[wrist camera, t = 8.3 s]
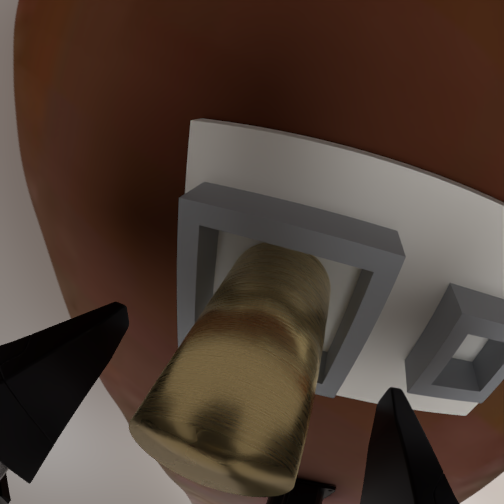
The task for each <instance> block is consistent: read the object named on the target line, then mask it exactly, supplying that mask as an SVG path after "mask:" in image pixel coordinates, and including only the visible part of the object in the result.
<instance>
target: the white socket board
mask: <svg viewBox="0 0 504 504" xmlns="http://www.w3.org/2000/svg"><path fill="white" fill-rule="evenodd" d="M264 242H265V243H269V244H273V245H276V246H280V247H284V248H287V249H291V250H295V251H299V252H302V253H306V254H310V255H313V256H315V257H316V258H317V259H318V260H319V261H320V262H321V264H322V265H323V266H324V268H325V270H326V272H327V274H328V277H329V280H330V285H331V293H330V301H329V309H328V317H327V324H326V331H325V338H324V344H323V351H322V357H321V363H320V369H319V375H318V380H317V386H316V391H315V394H318V395H322V396H326V397H330V398H334V397H335V395H338V396H343V397H347V398H352V399H357V400H361V401H366V402H372V403H377V404H378V402H379V400H380V399H381V398H382V396H383V395H384V394H385V392H386V391H387V390H388V389H389V388H390V387H395V388H400V389H402V390H403V392H404V394H405V396H406V398H407V400H408V402H409V403H410V405H411V407H412V409H413V410H420V411H427V412H435V413H444V414H453V415H464V416H466V415H467V414H468V413H469V412H470V411H471V410H472V409H473V408H474V407H475V406H476V405H477V404H478V403H482V402H483V401H484V400H485V399H486V398H487V397H488V396H489V395H490V394H491V393H492V392H493V391H494V389H495V388H496V387H497V386H498V385H499V384H500V383H501V382H502V380H503V379H504V202H502V201H500V200H497V199H495V198H493V197H491V196H489V195H486V194H484V193H482V192H479V191H477V190H475V189H472V188H470V187H468V186H465V185H463V184H460V183H458V182H455V181H453V180H450V179H448V178H445V177H442V176H440V175H437V174H434V173H431V172H429V171H426V170H423V169H420V168H417V167H414V166H412V165H409V164H406V163H403V162H399V161H396V160H393V159H390V158H387V157H384V156H380V155H377V154H374V153H370V152H367V151H363V150H360V149H356V148H352V147H349V146H345V145H341V144H337V143H333V142H329V141H325V140H321V139H317V138H312V137H308V136H303V135H299V134H294V133H289V132H284V131H279V130H274V129H269V128H263V127H258V126H252V125H246V124H240V123H233V122H226V121H219V120H212V119H204V118H201V119H195V120H191V123H190V133H189V144H188V156H187V169H186V184H185V194H184V195H182V196H181V197H179V208H178V237H177V328H178V348H179V346H180V345H181V343H182V342H183V340H184V339H185V337H186V336H187V334H188V333H189V331H190V330H191V328H192V327H193V325H194V324H195V322H196V321H197V319H198V318H199V316H200V315H201V313H202V312H203V310H204V309H205V307H206V306H207V304H208V303H209V301H210V300H211V298H212V297H213V295H214V294H215V292H216V291H217V289H218V288H219V286H220V285H221V283H222V282H223V280H224V279H225V277H226V276H227V274H228V273H229V271H230V270H231V268H232V267H233V265H234V264H235V262H236V261H237V259H238V258H239V257H240V256H241V254H243V253H244V252H245V251H246V250H247V249H249V248H251V247H253V246H255V245H257V244H260V243H264Z"/></svg>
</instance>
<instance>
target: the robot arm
mask: <svg viewBox="0 0 504 504" xmlns="http://www.w3.org/2000/svg"><path fill="white" fill-rule="evenodd" d="M128 326H129V319H128V312H127V307H126V306H125V305H123V304H121V303H119V302H113V303H110V304H108V305H105V306H103V307H100V308H98V309H95V310H92V311H90V312H87V313H85V314H82V315H80V316H77V317H75V318H72V319H70V320H67V321H64V322H62V323H59V324H57V325H54V326H52V327H49V328H47V329H44V330H42V331H39V332H36V333H34V334H32V335H29V336H26V337H24V338H21V339H18V340H16V341H13V342H10V343H7V344H4V345H1V346H0V504H9V502H10V501H11V499H10V494H9V488H8V482H7V476H6V472H7V470H8V469H10V470H11V471H13V472H14V473H15V474H17V475H18V476H19V477H21V478H22V479H24V480H25V481H26V482H28V483H31V481H32V480H33V478H34V476H35V475H36V473H37V472H38V470H39V468H40V467H41V465H42V463H43V462H44V460H45V458H46V457H47V455H48V453H49V452H50V450H51V449H52V447H53V446H54V444H55V442H56V441H57V439H58V437H59V436H60V434H61V433H62V431H63V430H64V428H65V426H66V425H67V423H68V422H69V420H70V419H71V417H72V416H73V414H74V413H75V411H76V410H77V408H78V407H79V405H80V404H81V402H82V401H83V399H84V398H85V396H86V395H87V393H88V392H89V390H90V389H91V387H92V386H93V385H94V383H95V382H96V380H97V379H98V377H99V376H100V374H101V373H102V372H103V370H104V369H105V367H106V366H107V364H108V363H109V361H110V360H111V358H112V356H113V354H114V352H115V351H116V349H117V347H118V345H119V343H120V341H121V340H122V338H123V336H124V334H125V333H126V331H127V329H128ZM335 489H336V487H334V486H329V485H323V484H317V483H312V482H307V481H302V480H297V479H296V481H295V485H294V488H293V489H292V490H291V491H289V492H288V493H285V494H283V495H279V496H272V497H268V500H267V503H266V504H322V501H323V499H324V498H326V497H327V496H329V495H330V494H332V493H333V492H335ZM360 504H459V503H458V501H457V499H456V497H455V495H454V494H453V491H452V489H451V487H450V485H449V483H448V481H447V479H446V477H445V474H443V470H442V468H441V466H440V464H439V462H438V459H437V457H436V455H435V453H434V451H433V449H432V447H431V445H430V443H429V441H428V439H427V437H426V435H425V433H424V431H423V429H422V427H421V425H420V423H419V421H418V419H417V417H416V415H415V413H414V411H413V409H412V407H411V405H410V403H409V402H408V400H407V398H406V396H405V394H404V392H403V390H402V389H400V388H395V387H390V388H389V389H388V390H387V391H386V392H385V394H384V395H383V396H382V398H381V399H380V400H379V402H378V404H377V408H376V413H375V418H374V423H373V428H372V432H371V437H370V442H369V447H368V454H367V462H366V470H365V477H364V484H363V490H362V496H361V502H360Z"/></svg>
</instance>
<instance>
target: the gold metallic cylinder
mask: <svg viewBox="0 0 504 504" xmlns="http://www.w3.org/2000/svg"><path fill="white" fill-rule="evenodd" d="M330 293H331V285H330V280H329V277H328V274H327V272H326V270H325V268H324V266H323V265H322V264H321V262H320V261H319V260H318V259H317V258H316V257H315V256H313V255H310V254H306V253H302V252H299V251H295V250H291V249H287V248H284V247H280V246H276V245H273V244H269V243H265V242H264V243H260V244H257V245H255V246H253V247H251V248H249V249H247V250H246V251H245V252H244V253H243V254H241V256H240V257H239V258H238V259H237V261H236V262H235V264H234V265H233V267H232V268H231V270H230V271H229V273H228V274H227V276H226V277H225V279H224V280H223V282H222V283H221V285H220V286H219V288H218V289H217V291H216V292H215V294H214V295H213V297H212V298H211V300H210V301H209V303H208V304H207V306H206V307H205V309H204V310H203V312H202V313H201V315H200V316H199V318H198V319H197V321H196V322H195V324H194V325H193V327H192V328H191V330H190V331H189V333H188V334H187V336H186V337H185V339H184V340H183V342H182V343H181V345H180V346H179V348H178V349H177V351H176V352H175V354H174V355H173V357H172V358H171V360H170V361H169V363H168V364H167V366H166V367H165V369H164V370H163V372H162V373H161V375H160V376H159V378H158V379H157V381H156V383H155V384H154V386H153V387H152V389H151V390H150V392H149V393H148V395H147V396H146V398H145V399H144V401H143V402H142V404H141V405H140V407H139V408H138V410H137V411H136V413H135V414H134V416H133V418H132V419H131V421H130V423H129V430H130V433H131V435H132V437H133V438H134V440H135V441H136V442H137V443H138V444H139V446H140V447H141V448H142V449H143V450H144V451H145V452H146V453H148V454H149V455H150V456H151V457H153V458H154V459H155V460H156V461H158V462H159V463H161V464H162V465H164V466H165V467H167V468H168V469H170V470H172V471H174V472H175V473H177V474H179V475H181V476H183V477H185V478H187V479H189V480H192V481H194V482H196V483H199V484H201V485H204V486H207V487H210V488H213V489H216V490H220V491H223V492H227V493H232V494H237V495H243V496H252V497H272V496H279V495H283V494H285V493H288V492H289V491H291V490H292V489H293V488H294V485H295V481H296V477H297V473H298V470H299V465H300V461H301V457H302V453H303V449H304V444H305V440H306V436H307V431H308V426H309V422H310V417H311V412H312V407H313V402H314V397H315V391H316V386H317V380H318V375H319V369H320V363H321V357H322V351H323V344H324V338H325V331H326V324H327V317H328V309H329V301H330Z"/></svg>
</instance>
